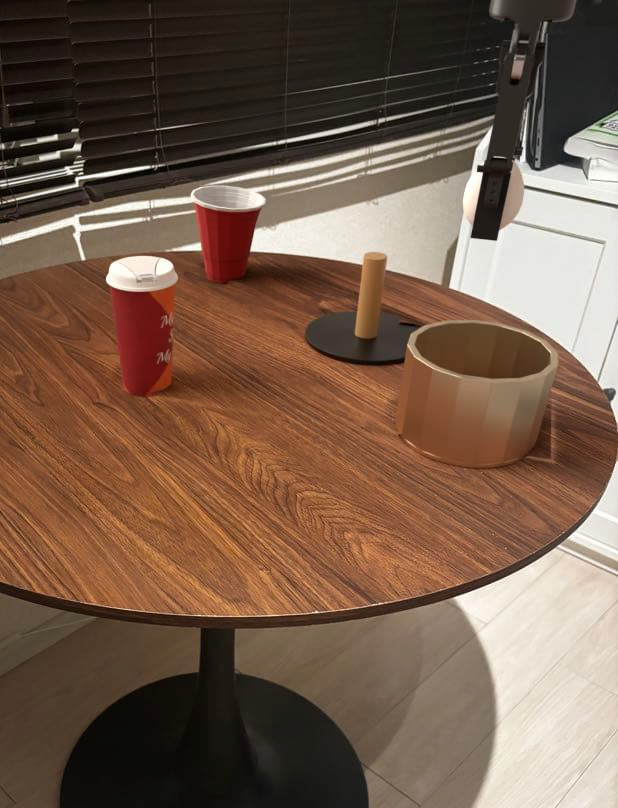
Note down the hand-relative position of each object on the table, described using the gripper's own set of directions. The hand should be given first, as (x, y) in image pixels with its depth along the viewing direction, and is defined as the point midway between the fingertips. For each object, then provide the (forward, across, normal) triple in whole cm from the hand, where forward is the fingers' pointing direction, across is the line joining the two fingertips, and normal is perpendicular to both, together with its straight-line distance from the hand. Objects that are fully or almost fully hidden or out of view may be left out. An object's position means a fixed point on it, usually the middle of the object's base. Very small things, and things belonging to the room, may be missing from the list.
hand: (486, 228), depth 88 cm
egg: (+1, 0, 0) cm, 1 cm away
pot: (+17, +15, +2) cm, 22 cm away
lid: (+16, -4, -12) cm, 21 cm away
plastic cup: (+17, -21, -36) cm, 45 cm away
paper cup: (+17, +16, -34) cm, 41 cm away
